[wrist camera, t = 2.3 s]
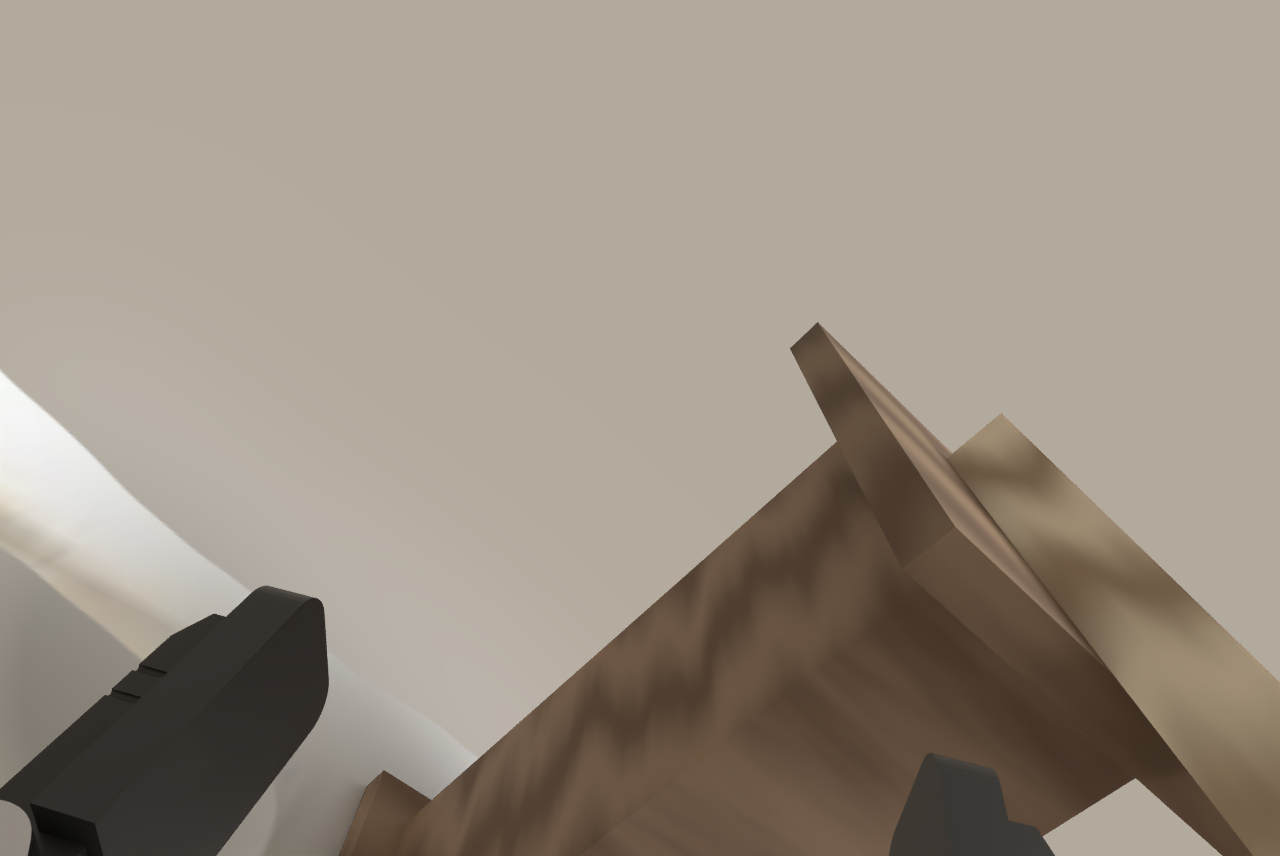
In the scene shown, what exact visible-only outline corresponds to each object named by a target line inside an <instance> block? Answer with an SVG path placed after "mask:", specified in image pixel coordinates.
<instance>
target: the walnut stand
mask: <svg viewBox="0 0 1280 856" xmlns="http://www.w3.org/2000/svg"><path fill="white" fill-rule="evenodd" d="M790 349H791V351H792V353H793V355H794V357H795V359H796V361H797V363H798V365H799V367H800V369H801V371H802V373H803V375H804V377H805V379H806V381H807V383H808V385H809V387H810V389H811V390H812V393H813V395H814V397H815V399H816V400H817V403H818V404H819V407H820V408H821V410H822V412H823V414H824V416H825V418H826V420H827V422H828V424H829V426H830V428H831V430H832V432H833V434H834V436H835V438H836V440H837V442H836V443H835V444H834V445H833V446H831V447H830V448H829V449H828V450H827V451H826V452H825V453H824V454H822V455H821V456H820V457H819V458H818V459H817V460H816V461H815V462H813V463H812V464H811V465H810V466H809V467H808V468H807V469H805V470H804V471H803V472H802V473H801V474H800V475H799V476H798V477H796V478H795V479H794V480H793V481H792V482H791V483H790V484H789V485H787V487H785V488H784V489H783V490H782V491H781V492H779V493H778V494H777V495H776V496H775V497H774V498H773V499H772V500H771V501H769V502H768V503H767V504H766V505H765V506H764V507H763V508H762V509H760V510H759V511H758V512H757V513H756V514H755V515H754V516H752V517H751V518H750V519H749V520H748V521H747V522H746V523H745V524H743V525H742V526H741V527H740V528H739V529H738V530H737V531H735V532H734V533H733V534H732V535H731V536H730V537H729V538H728V539H726V540H725V541H724V542H723V543H722V544H721V545H720V546H718V547H717V548H716V549H715V550H714V551H713V552H712V553H711V554H710V555H708V556H707V557H706V558H705V559H704V560H703V561H702V562H701V563H699V564H698V565H697V566H696V567H695V568H694V569H692V570H691V571H690V572H689V573H688V574H687V575H686V576H685V577H683V578H682V579H681V580H680V581H679V582H678V583H677V584H676V585H674V586H673V587H672V588H671V589H670V590H669V591H668V592H667V593H665V594H664V595H663V596H662V597H661V598H660V599H659V600H657V601H656V602H655V603H654V604H653V605H652V606H651V607H650V608H648V609H647V610H646V611H645V612H644V613H643V614H642V615H641V616H639V617H638V618H637V619H636V620H635V621H634V622H633V623H631V624H630V625H629V626H628V627H627V628H626V629H625V630H624V631H622V632H621V633H620V634H619V635H618V636H617V637H616V638H615V639H613V640H612V641H611V642H610V643H609V644H608V645H607V646H606V647H605V648H603V649H602V650H601V651H600V652H599V653H598V654H597V655H596V656H594V657H593V658H592V659H591V660H590V661H589V662H587V663H586V664H585V665H584V666H583V667H582V668H581V669H580V670H578V671H577V672H576V673H575V674H574V675H573V676H572V677H571V678H569V679H568V680H567V681H566V682H565V683H564V684H563V685H561V686H560V687H559V688H558V689H557V690H556V691H555V692H553V693H552V694H551V695H550V696H549V697H548V698H547V699H546V700H545V701H543V702H542V703H541V704H540V705H539V706H538V707H537V708H535V709H534V710H533V711H532V712H531V713H530V714H529V715H527V716H526V717H525V718H524V719H523V720H522V721H521V722H520V723H519V724H517V725H516V726H515V727H514V728H513V729H512V730H511V731H509V732H508V733H507V734H506V735H505V736H504V737H503V738H502V739H500V740H499V741H498V742H497V743H496V744H495V745H494V746H493V747H491V748H490V749H489V750H488V751H487V752H486V753H485V754H483V755H482V756H481V757H480V758H479V759H478V760H477V761H476V762H474V763H473V764H472V765H471V766H470V767H469V768H468V769H466V770H465V771H464V772H463V773H462V774H461V775H460V776H459V777H457V778H456V779H455V780H454V781H453V782H452V783H451V784H450V785H448V786H447V787H446V788H445V789H444V790H443V791H442V792H440V793H439V794H438V795H437V796H436V797H435V798H434V799H433V800H430V799H429V798H427V797H425V796H424V795H422V794H421V793H419V792H417V791H416V790H414V789H413V788H411V787H410V786H408V785H406V784H405V783H403V782H402V781H400V780H398V779H397V778H395V777H394V776H392V775H391V774H389V773H387V772H386V771H383V772H382V773H381V774H380V775H379V776H377V777H376V778H375V779H374V780H373V781H372V782H371V783H370V784H369V785H368V786H367V787H366V790H365V792H364V795H363V797H362V800H361V802H360V805H359V807H358V810H357V812H356V815H355V817H354V820H353V822H352V825H351V827H350V830H349V832H348V835H347V837H346V840H345V842H344V845H343V847H342V850H341V852H340V855H339V856H889V852H890V846H891V842H892V838H893V834H894V831H895V829H896V826H897V824H898V821H899V819H900V816H901V814H902V811H903V809H904V806H905V804H906V801H907V799H908V796H909V794H910V791H911V789H912V786H913V784H914V781H915V779H916V776H917V774H918V771H919V769H920V766H921V764H922V762H923V760H924V758H925V756H926V755H927V754H928V753H934V754H938V755H942V756H946V757H950V758H954V759H958V760H961V761H965V762H969V763H973V764H977V765H981V766H985V767H989V768H992V769H994V770H995V772H996V773H997V775H998V778H999V781H1000V785H1001V789H1002V794H1003V798H1004V803H1005V807H1006V812H1007V816H1008V820H1010V821H1014V822H1018V823H1022V824H1025V825H1029V826H1033V827H1036V828H1037V829H1038V831H1039V832H1040V834H1041V835H1042V836H1044V835H1045V834H1047V833H1049V832H1050V831H1052V830H1053V829H1055V828H1057V827H1058V826H1060V825H1061V824H1063V823H1064V822H1066V821H1068V820H1069V819H1070V818H1072V817H1074V816H1075V815H1077V814H1079V813H1080V812H1082V811H1084V810H1085V809H1087V808H1088V807H1090V806H1091V805H1093V804H1095V803H1096V802H1098V801H1100V800H1101V799H1103V798H1104V797H1106V796H1107V795H1109V794H1111V793H1112V792H1114V791H1115V790H1117V789H1119V788H1120V787H1122V786H1123V785H1125V784H1127V783H1128V782H1130V781H1131V780H1133V779H1135V778H1136V779H1137V780H1139V781H1140V782H1141V783H1142V784H1143V785H1144V786H1146V788H1147V789H1149V790H1150V791H1151V792H1152V793H1153V794H1154V795H1155V796H1157V797H1158V798H1159V799H1160V800H1161V801H1162V802H1163V803H1164V804H1165V805H1166V806H1168V807H1169V808H1170V809H1171V810H1172V811H1173V812H1174V813H1176V814H1177V815H1178V816H1179V817H1180V818H1181V819H1182V820H1183V821H1184V822H1186V823H1187V824H1188V825H1189V826H1190V827H1191V828H1192V829H1193V830H1194V831H1196V832H1197V833H1198V834H1199V835H1200V836H1201V837H1202V838H1204V839H1205V840H1206V841H1207V842H1208V843H1209V844H1210V845H1211V846H1212V847H1213V848H1215V849H1216V850H1217V851H1218V852H1219V853H1220V854H1221V855H1223V856H1253V855H1252V854H1251V852H1250V851H1249V850H1248V849H1247V847H1246V846H1245V845H1244V843H1243V842H1242V841H1241V839H1240V838H1239V837H1238V836H1237V834H1236V833H1235V832H1234V830H1233V829H1232V828H1231V827H1230V825H1229V824H1228V823H1227V821H1226V820H1225V819H1224V817H1223V816H1222V815H1221V814H1220V812H1219V811H1218V810H1217V808H1216V807H1215V806H1214V804H1213V803H1212V802H1211V801H1210V799H1209V798H1208V797H1207V795H1206V794H1205V793H1204V791H1203V790H1202V789H1201V788H1200V786H1199V785H1198V784H1197V782H1196V781H1195V780H1194V779H1193V777H1192V776H1191V775H1190V773H1189V772H1188V771H1187V769H1186V768H1185V767H1184V766H1183V764H1182V763H1181V762H1180V760H1179V759H1178V758H1177V756H1176V755H1175V754H1174V753H1173V751H1172V750H1171V749H1170V747H1169V746H1168V745H1167V743H1166V742H1165V741H1164V740H1163V738H1162V737H1161V736H1160V734H1159V733H1158V732H1157V731H1156V729H1155V728H1154V727H1153V725H1152V724H1151V723H1150V721H1149V720H1148V719H1147V718H1146V716H1145V715H1144V714H1143V712H1142V711H1141V710H1140V708H1139V707H1138V706H1137V705H1136V703H1135V702H1134V701H1133V699H1132V698H1131V697H1130V695H1129V694H1128V693H1127V692H1126V690H1125V689H1124V688H1123V686H1122V685H1121V684H1120V683H1119V681H1118V680H1117V679H1116V677H1115V676H1114V675H1113V673H1112V672H1111V671H1110V670H1109V668H1108V667H1107V666H1106V664H1105V663H1104V662H1103V660H1102V659H1101V658H1100V657H1099V655H1098V654H1097V653H1096V651H1095V650H1094V649H1093V647H1092V646H1091V645H1090V644H1089V642H1088V641H1087V640H1086V638H1085V637H1084V636H1083V634H1082V633H1081V632H1080V631H1079V629H1078V628H1077V627H1076V625H1075V624H1074V623H1073V622H1072V620H1071V619H1070V618H1069V616H1068V615H1067V614H1066V612H1065V611H1064V610H1063V609H1062V607H1061V606H1060V605H1059V603H1058V602H1057V601H1056V599H1055V598H1054V597H1053V596H1052V594H1051V593H1050V592H1049V590H1048V589H1047V588H1046V587H1045V585H1044V584H1043V583H1042V581H1041V580H1040V579H1039V577H1038V576H1037V575H1036V574H1035V572H1034V571H1033V570H1032V568H1031V567H1030V566H1029V564H1028V563H1027V562H1026V561H1025V559H1024V558H1023V557H1022V555H1021V554H1020V553H1019V551H1018V550H1017V549H1016V548H1015V546H1014V545H1013V544H1012V542H1011V541H1010V540H1009V539H1008V537H1007V536H1006V535H1005V533H1004V532H1003V531H1002V529H1001V528H1000V527H999V526H998V524H997V523H996V522H995V520H994V519H993V518H992V516H991V515H990V514H989V513H988V511H987V510H986V509H985V507H984V506H983V505H982V503H981V502H980V501H979V500H978V498H977V497H976V496H975V494H974V493H973V492H972V491H971V489H970V488H969V487H968V485H967V484H966V483H965V481H964V480H963V479H962V478H961V476H960V475H959V474H958V472H957V471H956V470H955V468H954V467H953V466H952V465H951V463H950V462H949V461H948V459H947V458H948V457H949V456H950V455H952V453H951V452H950V451H949V450H948V449H947V448H946V447H945V446H944V445H943V444H942V443H941V442H940V441H939V440H938V439H937V438H936V437H935V436H934V435H933V434H932V433H930V431H929V430H928V429H927V428H926V427H924V426H923V425H922V424H921V423H920V422H919V421H918V420H917V419H916V418H915V417H914V416H913V415H912V414H911V413H910V412H909V411H908V410H907V409H906V408H905V407H904V406H903V405H902V404H901V403H900V402H899V401H898V400H897V399H896V398H895V397H894V396H893V395H892V394H891V393H890V392H889V391H888V390H887V389H886V388H885V387H884V386H883V385H881V384H880V383H879V382H878V381H877V380H876V379H875V378H874V377H873V376H872V375H871V374H870V373H869V372H868V371H867V370H866V369H865V368H864V367H863V366H862V365H861V364H860V363H859V362H858V361H857V360H856V359H855V358H854V357H853V356H852V355H851V354H850V353H849V352H848V351H847V350H846V349H845V348H844V347H842V346H841V345H840V344H839V343H838V342H837V341H836V340H835V339H834V338H833V337H832V336H831V335H830V334H829V333H828V332H827V331H826V330H825V329H824V328H823V327H822V326H821V325H820V324H819V323H816V324H815V325H814V326H813V327H812V328H811V329H810V330H809V331H808V332H807V333H806V334H805V335H804V336H803V337H802V338H801V339H800V340H798V342H796V343H795V344H794V345H793V346H792V347H791V348H790Z"/></svg>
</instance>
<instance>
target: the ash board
mask: <svg viewBox="0 0 1280 856" xmlns="http://www.w3.org/2000/svg"><path fill="white" fill-rule="evenodd" d="M947 459H948V461H949V462H950V463H951V465H952V466H953V467H954V468H955V470H956V471H957V472H958V474H959V475H960V476H961V478H962V479H963V480H964V481H965V483H966V484H967V485H968V487H969V488H970V489H971V491H972V492H973V493H974V494H975V496H976V497H977V498H978V500H979V501H980V502H981V503H982V505H983V506H984V507H985V509H986V510H987V511H988V513H989V514H990V515H991V516H992V518H993V519H994V520H995V522H996V523H997V524H998V526H999V527H1000V528H1001V529H1002V531H1003V532H1004V533H1005V535H1006V536H1007V537H1008V539H1009V540H1010V541H1011V542H1012V544H1013V545H1014V546H1015V548H1016V549H1017V550H1018V551H1019V553H1020V554H1021V555H1022V557H1023V558H1024V559H1025V561H1026V562H1027V563H1028V564H1029V566H1030V567H1031V568H1032V570H1033V571H1034V572H1035V574H1036V575H1037V576H1038V577H1039V579H1040V580H1041V581H1042V583H1043V584H1044V585H1045V587H1046V588H1047V589H1048V590H1049V592H1050V593H1051V594H1052V596H1053V597H1054V598H1055V599H1056V601H1057V602H1058V603H1059V605H1060V606H1061V607H1062V609H1063V610H1064V611H1065V612H1066V614H1067V615H1068V616H1069V618H1070V619H1071V620H1072V622H1073V623H1074V624H1075V625H1076V627H1077V628H1078V629H1079V631H1080V632H1081V633H1082V634H1083V636H1084V637H1085V638H1086V640H1087V641H1088V642H1089V644H1090V645H1091V646H1092V647H1093V649H1094V650H1095V651H1096V653H1097V654H1098V655H1099V657H1100V658H1101V659H1102V660H1103V662H1104V663H1105V664H1106V666H1107V667H1108V668H1109V670H1110V671H1111V672H1112V673H1113V675H1114V676H1115V677H1116V679H1117V680H1118V681H1119V683H1120V684H1121V685H1122V686H1123V688H1124V689H1125V690H1126V692H1127V693H1128V694H1129V695H1130V697H1131V698H1132V699H1133V701H1134V702H1135V703H1136V705H1137V706H1138V707H1139V708H1140V710H1141V711H1142V712H1143V714H1144V715H1145V716H1146V718H1147V719H1148V720H1149V721H1150V723H1151V724H1152V725H1153V727H1154V728H1155V729H1156V731H1157V732H1158V733H1159V734H1160V736H1161V737H1162V738H1163V740H1164V741H1165V742H1166V743H1167V745H1168V746H1169V747H1170V749H1171V750H1172V751H1173V753H1174V754H1175V755H1176V756H1177V758H1178V759H1179V760H1180V762H1181V763H1182V764H1183V766H1184V767H1185V768H1186V769H1187V771H1188V772H1189V773H1190V775H1191V776H1192V777H1193V779H1194V780H1195V781H1196V782H1197V784H1198V785H1199V786H1200V788H1201V789H1202V790H1203V791H1204V793H1205V794H1206V795H1207V797H1208V798H1209V799H1210V801H1211V802H1212V803H1213V804H1214V806H1215V807H1216V808H1217V810H1218V811H1219V812H1220V814H1221V815H1222V816H1223V817H1224V819H1225V820H1226V821H1227V823H1228V824H1229V825H1230V827H1231V828H1232V829H1233V830H1234V832H1235V833H1236V834H1237V836H1238V837H1239V838H1240V839H1241V841H1242V842H1243V843H1244V845H1245V846H1246V847H1247V849H1248V850H1249V851H1250V852H1251V854H1252V855H1253V856H1280V682H1279V681H1278V680H1277V679H1276V678H1275V677H1274V676H1273V675H1271V674H1270V673H1269V671H1268V670H1266V669H1265V668H1264V667H1263V666H1262V665H1261V664H1260V663H1259V662H1258V661H1257V660H1256V659H1255V658H1254V657H1253V656H1252V655H1251V654H1250V653H1249V652H1248V651H1247V650H1246V649H1245V648H1244V647H1243V646H1242V645H1241V644H1239V642H1238V641H1236V640H1235V639H1234V638H1233V637H1232V636H1231V635H1230V634H1229V633H1228V632H1227V631H1226V630H1225V629H1224V628H1223V627H1222V626H1221V625H1220V624H1219V623H1218V622H1217V621H1216V620H1215V619H1214V618H1213V617H1212V616H1211V615H1210V614H1209V613H1207V612H1206V611H1205V610H1204V609H1203V608H1202V607H1201V606H1200V605H1199V604H1198V603H1197V602H1196V601H1195V600H1194V599H1193V598H1192V597H1191V596H1190V595H1189V594H1188V593H1187V592H1186V591H1185V590H1184V589H1183V588H1182V587H1181V586H1180V585H1179V584H1177V583H1176V582H1175V581H1174V580H1173V579H1172V578H1171V577H1170V576H1169V575H1168V574H1167V573H1166V572H1165V571H1164V570H1163V569H1162V568H1161V567H1160V566H1159V565H1158V564H1157V563H1156V562H1155V561H1154V560H1153V559H1152V558H1150V557H1149V555H1147V554H1146V553H1145V552H1144V551H1143V550H1142V549H1141V548H1140V547H1139V546H1138V545H1137V544H1136V543H1135V542H1134V541H1133V540H1132V539H1131V538H1130V537H1129V536H1128V535H1127V534H1126V533H1125V532H1124V531H1123V530H1121V528H1119V527H1118V526H1117V525H1116V524H1115V523H1114V522H1113V521H1112V520H1111V519H1110V518H1109V517H1108V516H1107V515H1106V514H1105V513H1104V512H1103V511H1102V510H1101V509H1100V508H1099V507H1098V506H1097V505H1096V504H1095V503H1094V502H1092V500H1091V499H1089V498H1088V497H1087V496H1086V495H1085V494H1084V493H1083V492H1082V491H1081V490H1080V489H1079V488H1078V487H1077V486H1076V485H1075V484H1074V483H1073V482H1072V481H1071V480H1070V479H1069V478H1068V477H1067V476H1066V475H1065V474H1064V473H1063V472H1062V471H1061V470H1059V469H1058V468H1057V467H1056V466H1055V465H1054V464H1053V463H1052V462H1051V461H1050V460H1049V459H1048V458H1047V457H1046V456H1045V455H1044V454H1043V453H1042V452H1041V451H1040V450H1039V449H1038V448H1037V447H1036V446H1034V444H1033V443H1032V442H1030V441H1029V440H1028V439H1027V438H1026V437H1025V436H1024V435H1023V434H1022V433H1021V432H1020V431H1019V430H1018V429H1017V428H1016V427H1015V426H1014V425H1013V424H1012V423H1011V422H1010V421H1009V420H1008V419H1006V417H1004V416H1003V414H1002V413H1001V414H1000V415H999V416H997V417H996V418H995V419H994V420H992V421H991V422H990V423H989V424H988V425H986V426H985V427H984V428H983V429H982V430H980V431H979V432H978V433H977V434H976V435H975V436H973V437H972V438H971V439H970V440H969V441H967V442H966V443H965V444H964V445H962V446H961V447H960V448H959V449H958V450H956V451H955V452H954V453H953V454H952V455H950V456H949V457H948V458H947Z"/></svg>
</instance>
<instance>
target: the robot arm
mask: <svg viewBox="0 0 1280 856" xmlns="http://www.w3.org/2000/svg"><path fill="white" fill-rule="evenodd" d="M328 686H329V676H328V661H327V646H326V630H325V615H324V607H323V604H322V602H321V601H320V600H319V599H317V598H313V597H309V596H305V595H302V594H298V593H293V592H290V591H286V590H282V589H278V588H274V587H270V586H262V587H259V588H258V589H256V590H255V591H253V592H252V593H251V594H250V595H249V596H248V597H247V598H246V599H245V600H244V601H243V602H242V603H240V604H239V605H238V606H237V607H236V608H235V609H234V610H233V611H232V612H231V613H230V614H229V615H228V616H227V617H224V616H220V615H217V614H212V615H210V616H208V617H206V618H204V619H203V620H201V621H199V622H197V623H195V624H193V625H191V626H189V627H187V628H185V629H183V630H181V631H179V632H177V633H175V634H173V635H171V636H170V637H169V638H168V639H167V640H166V641H165V642H164V643H162V644H161V645H160V646H159V647H158V648H157V649H156V650H155V651H154V652H152V653H151V654H150V655H149V656H148V657H147V658H146V659H145V660H144V661H142V662H141V663H140V664H139V668H138V670H137V671H133V670H132V671H131V672H130V673H129V674H128V675H127V676H126V677H125V678H123V679H122V680H121V681H120V682H119V683H118V684H117V685H116V686H115V687H113V688H112V692H111V694H110V695H109V696H107V695H105V696H103V697H102V698H101V699H100V700H99V701H98V702H97V703H96V704H94V705H93V706H92V707H91V708H90V709H89V710H88V711H87V712H85V713H84V714H83V715H82V716H81V717H80V718H79V719H78V720H77V721H75V722H74V723H73V724H72V725H71V726H70V727H69V728H68V729H67V730H65V731H64V732H63V733H62V734H61V735H60V736H59V737H57V738H56V739H55V740H54V741H53V742H52V743H51V744H50V745H49V746H47V747H46V748H45V749H44V750H43V751H42V752H41V753H40V754H39V755H38V756H36V757H35V758H34V759H33V760H32V761H31V762H30V763H28V764H27V765H26V766H25V767H24V768H23V769H22V770H21V771H20V772H19V773H17V774H16V775H15V776H14V777H13V778H12V779H11V780H9V781H8V782H7V783H6V784H5V785H4V786H3V787H2V788H1V789H0V856H216V855H217V854H218V853H219V851H220V850H221V849H222V847H223V846H224V845H225V844H226V842H227V841H228V840H229V838H230V837H231V836H232V834H233V833H234V832H235V830H236V829H237V828H238V826H239V825H240V824H241V822H242V821H243V820H244V819H245V817H246V816H247V814H248V813H249V812H250V811H251V809H252V808H253V807H254V805H255V804H256V803H257V801H258V800H259V799H260V797H261V796H262V795H263V794H264V792H265V791H266V790H267V788H268V787H269V786H270V784H271V783H272V782H273V780H274V779H275V778H276V776H277V775H278V774H279V772H280V771H281V770H282V769H283V767H284V766H285V765H286V763H287V762H288V761H289V759H290V758H291V757H292V755H293V754H294V753H295V751H296V750H297V749H298V747H299V746H300V745H301V744H302V742H303V741H304V740H305V738H306V737H307V736H308V734H309V733H310V732H311V730H312V729H313V727H314V726H315V724H316V722H317V721H318V719H319V717H320V715H321V712H322V710H323V707H324V704H325V701H326V698H327V693H328ZM889 856H1055V855H1054V854H1053V852H1052V851H1051V849H1050V847H1049V846H1048V844H1047V843H1046V841H1045V840H1044V838H1043V837H1042V835H1041V834H1040V832H1039V831H1038V829H1037V828H1036V827H1033V826H1029V825H1025V824H1022V823H1018V822H1014V821H1010V820H1008V816H1007V812H1006V807H1005V803H1004V798H1003V794H1002V789H1001V785H1000V781H999V778H998V775H997V773H996V772H995V770H994V769H992V768H989V767H985V766H981V765H977V764H973V763H969V762H965V761H961V760H958V759H954V758H950V757H946V756H942V755H938V754H934V753H928V754H927V755H926V756H925V758H924V760H923V762H922V764H921V766H920V769H919V771H918V774H917V776H916V779H915V781H914V784H913V786H912V789H911V791H910V794H909V796H908V799H907V801H906V804H905V806H904V809H903V811H902V814H901V816H900V819H899V821H898V824H897V826H896V829H895V831H894V834H893V838H892V842H891V846H890V852H889Z"/></svg>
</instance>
